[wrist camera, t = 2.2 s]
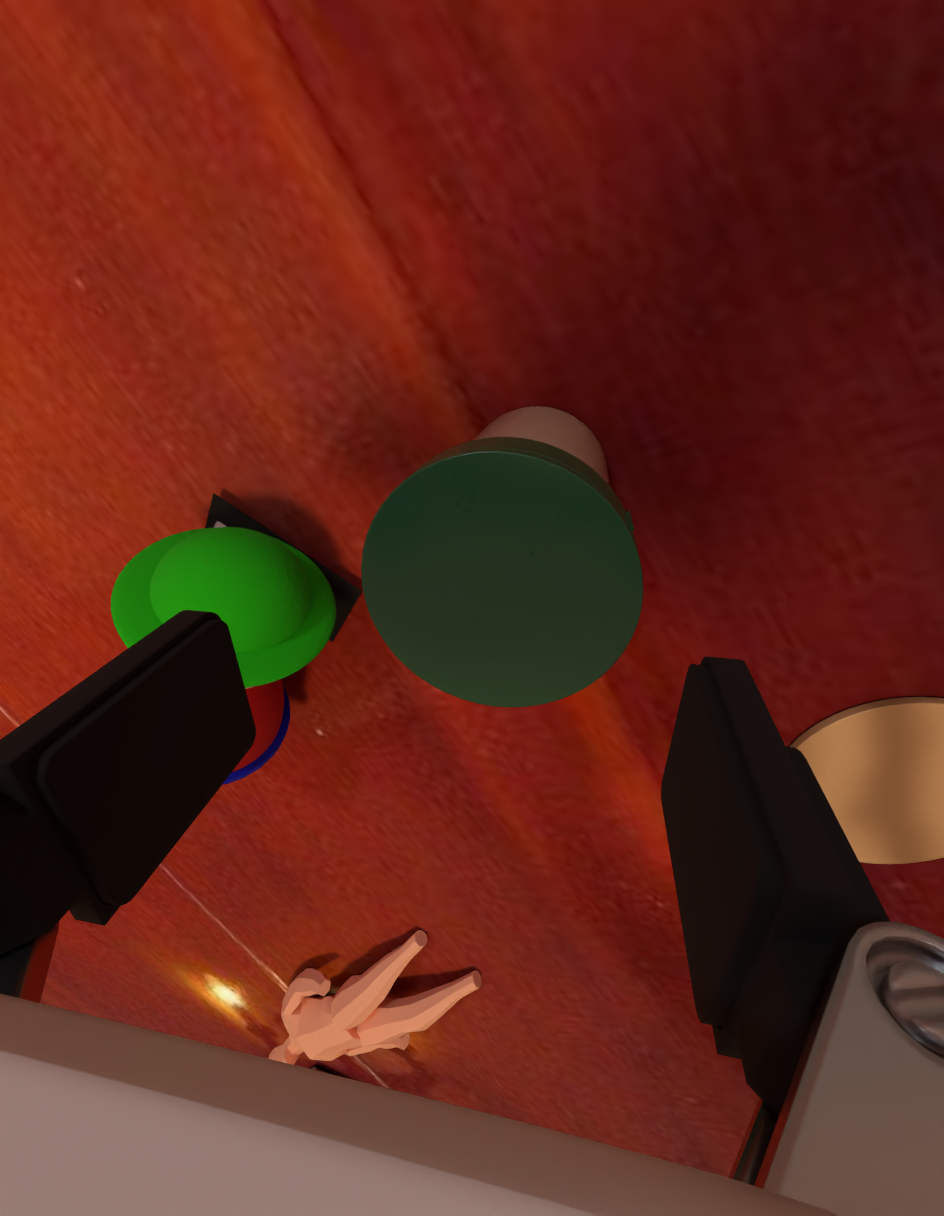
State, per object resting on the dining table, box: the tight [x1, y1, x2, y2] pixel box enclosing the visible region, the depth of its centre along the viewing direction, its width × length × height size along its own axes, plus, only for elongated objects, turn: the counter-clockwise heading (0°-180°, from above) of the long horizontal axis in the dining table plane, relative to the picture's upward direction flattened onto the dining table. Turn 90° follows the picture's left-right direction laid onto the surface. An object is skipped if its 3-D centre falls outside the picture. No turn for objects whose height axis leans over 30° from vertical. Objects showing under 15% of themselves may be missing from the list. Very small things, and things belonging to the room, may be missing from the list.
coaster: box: [790, 697, 944, 864], centre depth 26 cm, size 11×11×1 cm
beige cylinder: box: [473, 406, 610, 486], centre depth 18 cm, size 6×6×10 cm
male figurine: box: [268, 930, 482, 1065], centre depth 46 cm, size 11×5×25 cm
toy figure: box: [111, 493, 362, 785], centre depth 26 cm, size 9×10×15 cm
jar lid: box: [361, 437, 643, 707], centre depth 14 cm, size 7×7×2 cm
